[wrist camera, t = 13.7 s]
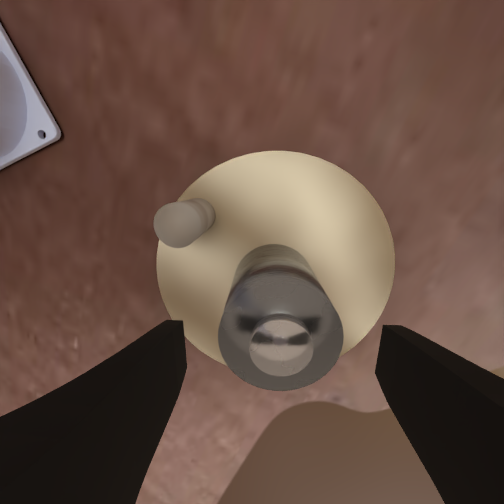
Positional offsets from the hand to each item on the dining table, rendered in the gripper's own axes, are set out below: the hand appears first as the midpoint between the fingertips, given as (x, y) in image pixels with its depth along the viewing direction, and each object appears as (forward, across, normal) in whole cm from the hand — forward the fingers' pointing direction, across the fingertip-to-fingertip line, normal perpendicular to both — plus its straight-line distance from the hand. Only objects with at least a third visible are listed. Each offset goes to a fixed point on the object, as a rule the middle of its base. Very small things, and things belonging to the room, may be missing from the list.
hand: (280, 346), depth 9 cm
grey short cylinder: (+7, 0, 0) cm, 7 cm away
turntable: (+9, 0, 0) cm, 9 cm away
